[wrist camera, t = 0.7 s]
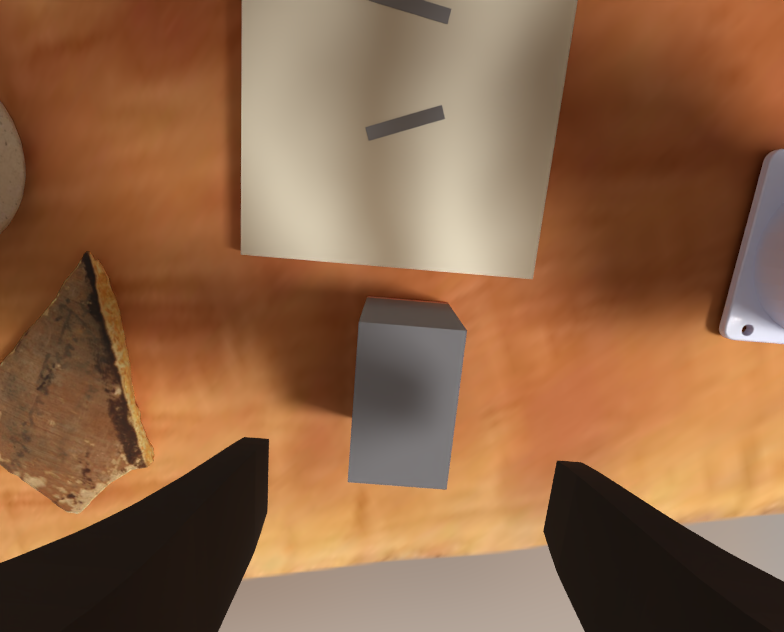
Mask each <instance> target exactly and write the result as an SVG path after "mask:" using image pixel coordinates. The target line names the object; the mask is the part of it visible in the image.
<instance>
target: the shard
mask: <svg viewBox="0 0 784 632" xmlns="http://www.w3.org/2000/svg"><path fill="white" fill-rule="evenodd" d="M125 340H126V339H125V334H124V330H123V327H122V319H121V315H120V310H119V307H118V304H117V301H116V297H115V294H114V293H113V291H112V289H111V286H110V283H109V277H108V275H107V274H106V272H105V269H104V268H103V266H102V264H101V263H100V261H99V259H97V260H95V259H94V256H93V255H92V254H91V252H89V251H86V253H85V254H84V255H83V258H82V259H81V260H80V262H79V264H78V266H77V267H76V268H75V270H74V271H73V272H72V273H71V274H70V276H69V277H68V278H67V279H66V280H65V281H64V284H63V285H62V287H61V289H60V291H59V292H58V295H57V297H56V299H55V300H54V301H52V302H51V305H50V306H49V307H48V308H47V309H46V311H45V312H44V313H43V314H42V316H41V317H40V318H39V319H38V320H37V321H36V323H35V324H34V325H32V326H31V327H30V328H29V329H28V330H27V331H26V332H25V333H24V335H23V336H22V338H21V339H20V341H19V342H18V344H17V345H16V347H15V348H14V350H13V351H12V352H11V353H10V354H9V355H8V356H7V357H6V358H5V359H4V361H3V362H2V363H1V365H0V465H1V466H3V467H4V468H5V469H6V470H7V471H9V472H10V473H12V474H14V475H17V476H18V477H20V478H21V479H22V480H23V481H24V482H26V483H28V484H29V485H30V486H31V487H33V488H34V489H36V490H37V491H39V492H41V493H42V494H44V495H45V496H46V497H48V498H49V499H50V500H51V501H52V502H53V503H54V504H56V505H57V506H59V507H60V508H62V509H63V510H65V511H66V512H70V513H76V514H78V513H81V512H82V511H83V510H84V509H85V508H86V507H87V506H88V505H89V503H90V502H91V501H92V500H93V499H94V498H95V497H96V496H97V495H98V494H99V493H100V492H101V491H102V490H103V489H104V488H105V487H107V486H108V485H109V484H110V483H111V482H113V481H115V480H116V479H118V478H120V477H121V476H123V475H125V474H126V473H128V472H129V471H131V470H133V469H139V468H145V467H148V466H149V465H150V464H151V463H152V462H153V461H154V460H153V458H154V450H153V447H152V445H151V444H150V442H149V440H148V438H147V437H146V433H145V430H144V428H143V425H142V423H141V421H140V410H139V408H138V407H137V405H136V404H135V396H134V389H133V385H132V378H131V365H130V361H129V356H128V350H127V347H126V343H125Z"/></svg>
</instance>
